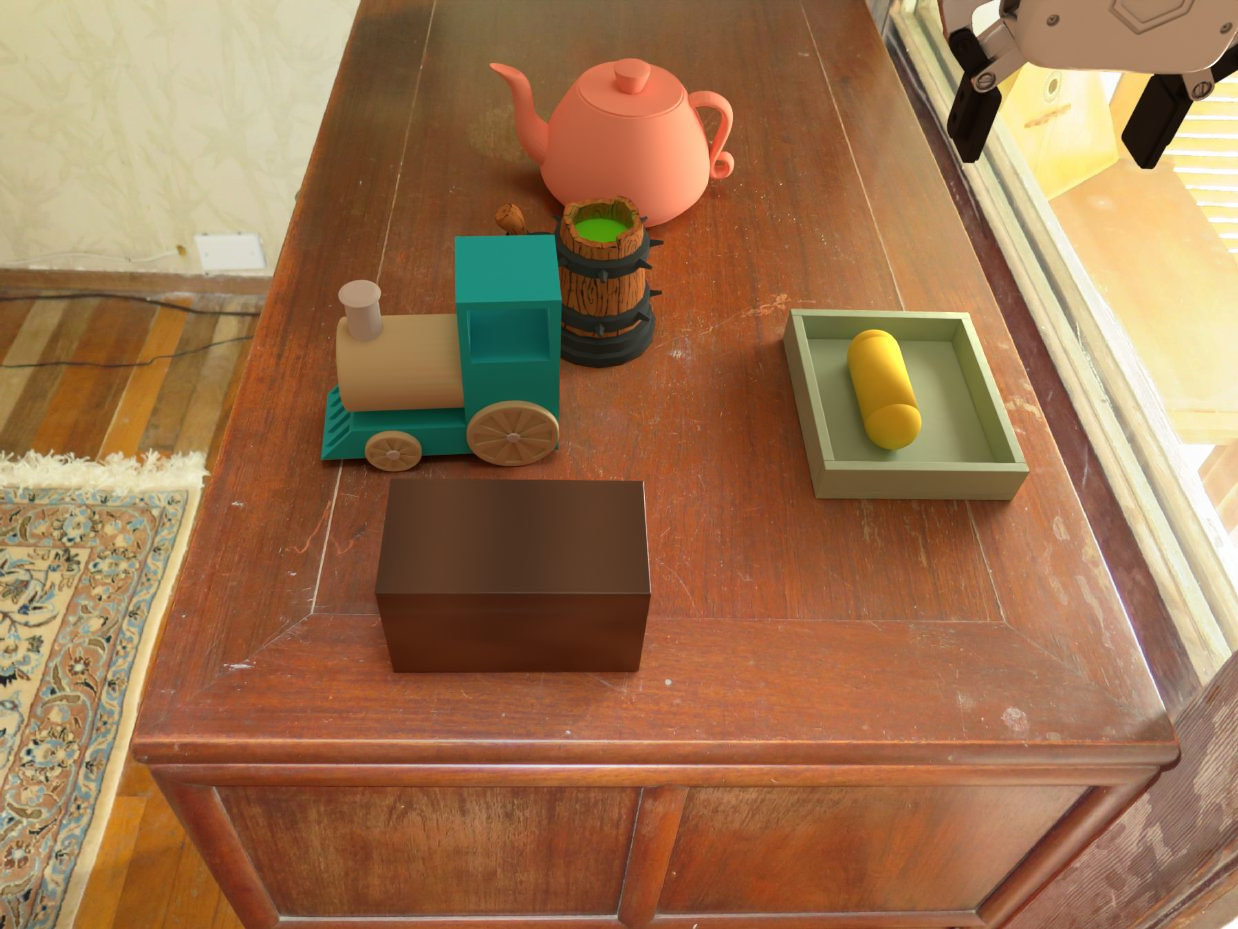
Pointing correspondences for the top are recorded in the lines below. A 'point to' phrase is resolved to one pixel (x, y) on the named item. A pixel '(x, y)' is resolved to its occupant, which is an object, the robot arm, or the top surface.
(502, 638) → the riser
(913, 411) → the yellow capsule toy
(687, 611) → the top surface
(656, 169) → the teapot
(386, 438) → the toy train
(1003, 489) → the tray
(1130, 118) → the robot arm
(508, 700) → the top surface
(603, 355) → the mug
